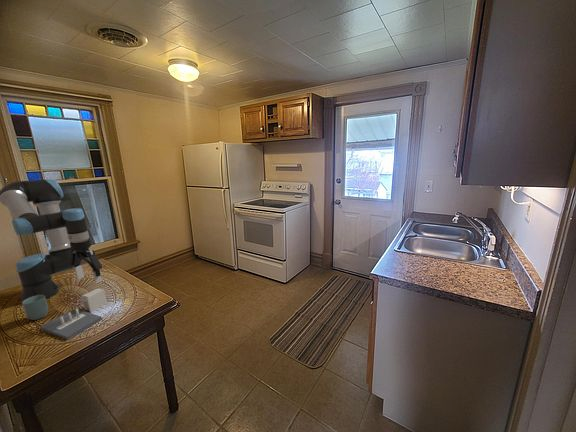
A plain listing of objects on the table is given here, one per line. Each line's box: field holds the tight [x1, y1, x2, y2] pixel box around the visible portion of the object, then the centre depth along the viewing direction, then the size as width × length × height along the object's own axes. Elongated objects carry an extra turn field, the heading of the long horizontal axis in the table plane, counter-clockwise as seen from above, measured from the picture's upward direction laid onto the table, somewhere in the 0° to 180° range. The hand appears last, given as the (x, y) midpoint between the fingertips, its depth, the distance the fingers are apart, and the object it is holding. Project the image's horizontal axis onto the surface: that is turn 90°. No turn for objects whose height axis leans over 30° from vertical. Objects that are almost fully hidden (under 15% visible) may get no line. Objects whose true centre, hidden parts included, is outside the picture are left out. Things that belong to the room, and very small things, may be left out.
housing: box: [80, 287, 108, 313], centre depth 125 cm, size 5×8×8 cm, turn 160°
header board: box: [39, 308, 103, 341], centre depth 112 cm, size 20×14×6 cm
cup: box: [21, 295, 49, 321], centre depth 117 cm, size 8×8×10 cm
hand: (89, 280), depth 122 cm, fingers open, 13 cm apart
